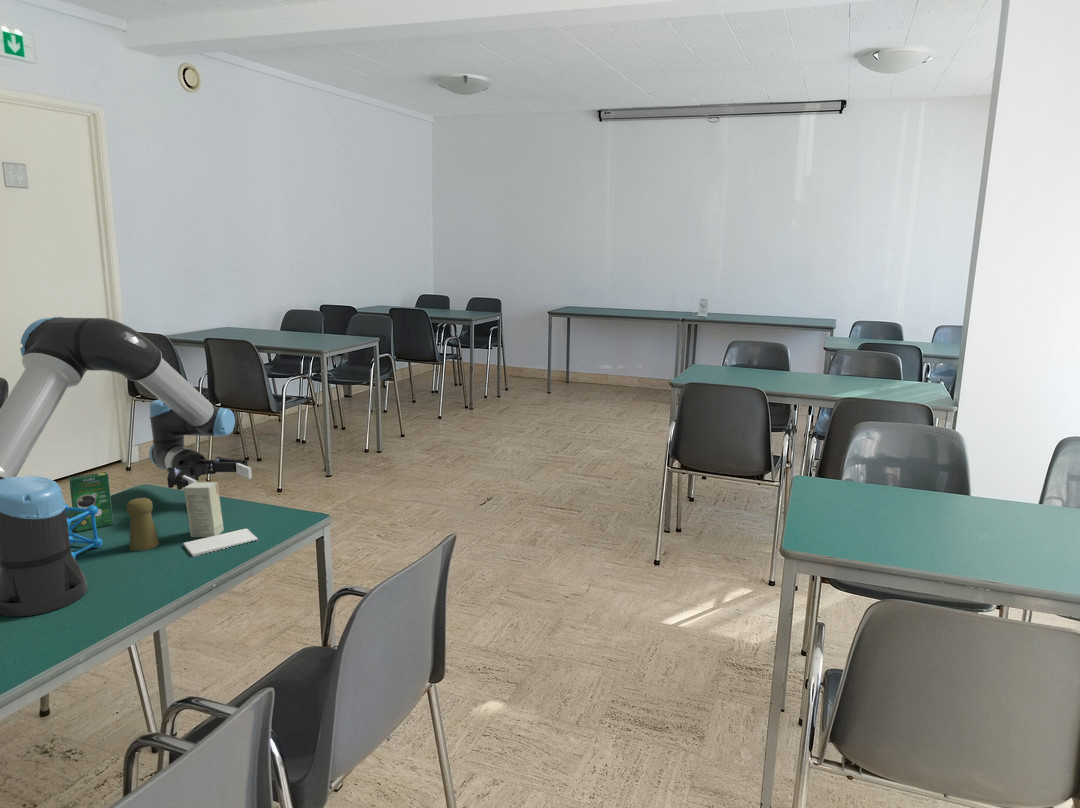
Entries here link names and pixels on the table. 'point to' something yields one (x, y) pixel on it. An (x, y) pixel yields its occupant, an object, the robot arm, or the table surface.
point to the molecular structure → (89, 511)
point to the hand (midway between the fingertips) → (223, 479)
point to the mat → (219, 542)
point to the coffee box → (92, 499)
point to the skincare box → (203, 509)
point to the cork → (141, 525)
